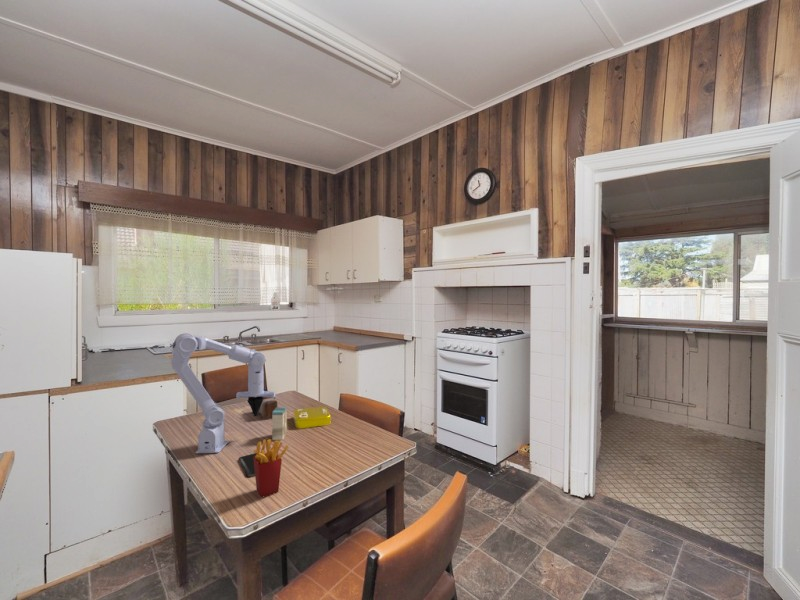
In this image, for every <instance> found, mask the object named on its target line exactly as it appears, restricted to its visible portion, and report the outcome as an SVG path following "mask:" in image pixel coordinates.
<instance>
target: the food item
mask: <svg viewBox="0 0 800 600" xmlns="http://www.w3.org/2000/svg"><path fill="white" fill-rule="evenodd" d="M278 406H279V405H278V400H276V396H275V397H274V398H271V397H264V399H263V401H262V404H261V406H260V409H259V414H260V415H261V417H262V418H263V419H264V420H270V419H271V420H272V412H273V411H274V410H275V409H276V407H278Z"/></svg>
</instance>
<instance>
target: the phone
mask: <svg viewBox="0 0 800 600" xmlns="http://www.w3.org/2000/svg"><path fill="white" fill-rule="evenodd" d="M260 453H261V451H260ZM254 456H256V453H255V452H253V453H250V454H246V455H242V456H239V458H238V462H239V464H240V466H241V467H242V469H243V471H244V473H245V476H246V477H247V478H249V479H250V478H255V469H254V459H253V457H254Z"/></svg>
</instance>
